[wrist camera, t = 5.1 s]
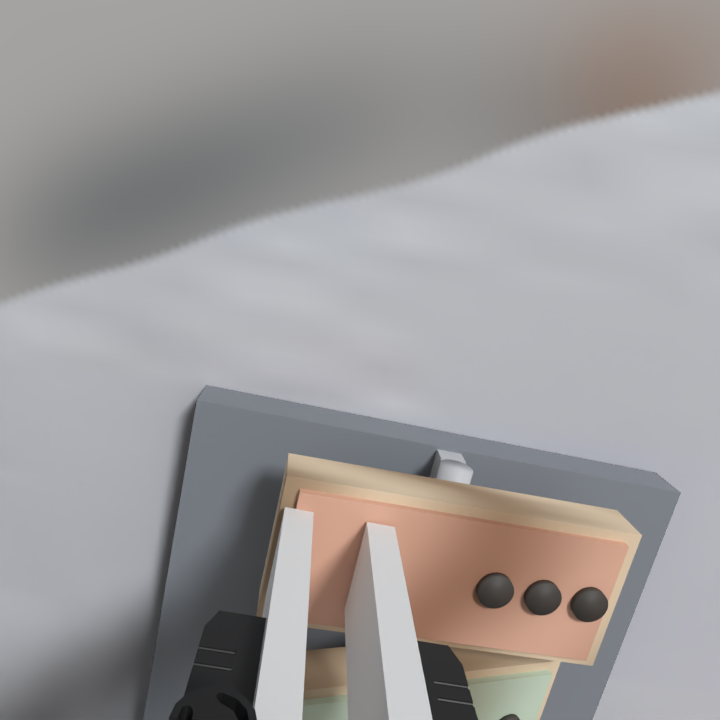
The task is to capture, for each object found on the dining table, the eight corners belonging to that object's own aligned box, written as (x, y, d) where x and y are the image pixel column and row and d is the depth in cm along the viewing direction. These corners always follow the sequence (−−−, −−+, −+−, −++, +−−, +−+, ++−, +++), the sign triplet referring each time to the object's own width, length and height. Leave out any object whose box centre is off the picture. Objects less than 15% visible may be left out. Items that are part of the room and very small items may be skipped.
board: (140, 769, 23) (113, 854, 20) (206, 385, 20) (184, 419, 17) (527, 816, 25) (555, 901, 22) (656, 473, 21) (711, 518, 18)
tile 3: (260, 588, 18) (254, 631, 16) (288, 452, 17) (286, 482, 15) (572, 632, 19) (599, 676, 17) (617, 510, 18) (649, 543, 16)
